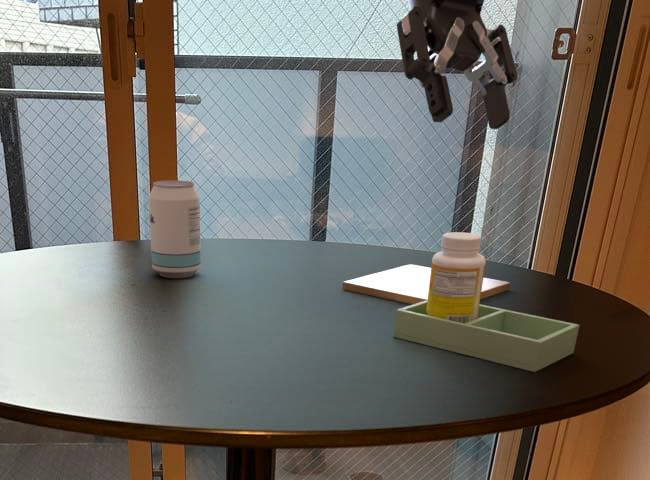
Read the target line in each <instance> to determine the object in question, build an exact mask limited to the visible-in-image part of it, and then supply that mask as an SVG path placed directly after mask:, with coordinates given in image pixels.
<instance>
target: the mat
mask: <svg viewBox="0 0 650 480" xmlns="http://www.w3.org/2000/svg"><path fill="white" fill-rule="evenodd" d="M430 274H431V267H428V266H423V265H417V264H412V263H410V264H406V265H401V266H397V267H395V268H390V269H386V270H383V271H379V272H374V273H371V274H367V275H363V276H360V277H356V278H353V279H349V280H344V281H342V288H341V289H342V290H344V291H348V292H354V293H358V294H363V295H367V296H372V297H375V298H380V299H385V300H388V301H393V302H398V303H399V302H400V303H403V304H408V305H413V304H416V303H419V302H422V301H426V300H428V292H429V283H430ZM510 288H511V282H510V281H506V280H505V281H504V280H499V279H493V278H488V277H483V284H482V290H481V297H480V301H481V300H484V299H486V298H489V297H492V296H496V295H498V294H501V293H504V292H507V291H509V290H510Z"/></svg>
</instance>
